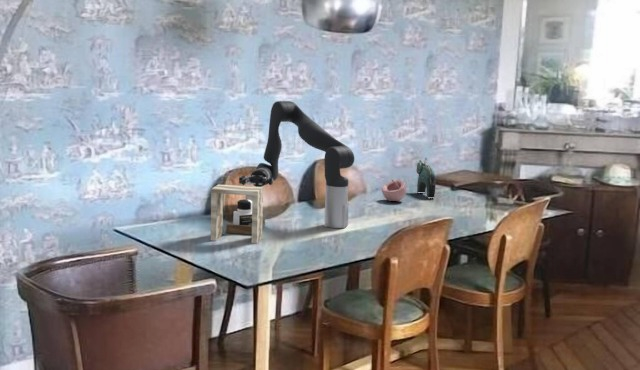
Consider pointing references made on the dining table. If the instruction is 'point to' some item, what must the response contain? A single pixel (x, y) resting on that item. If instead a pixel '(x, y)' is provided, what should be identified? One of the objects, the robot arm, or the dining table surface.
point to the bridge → (218, 208)
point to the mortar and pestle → (394, 190)
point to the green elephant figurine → (425, 178)
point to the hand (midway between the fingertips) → (253, 182)
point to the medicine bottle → (243, 213)
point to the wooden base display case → (241, 228)
